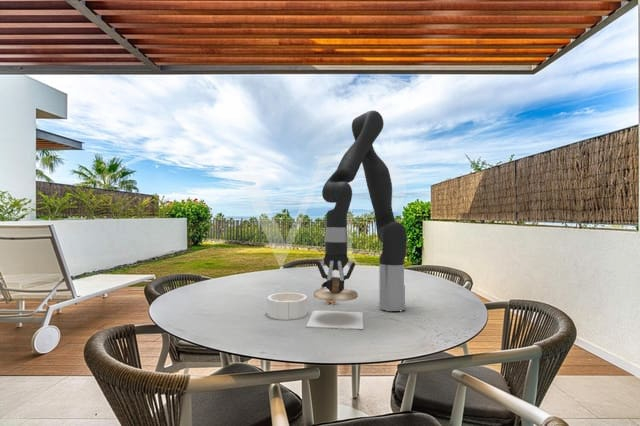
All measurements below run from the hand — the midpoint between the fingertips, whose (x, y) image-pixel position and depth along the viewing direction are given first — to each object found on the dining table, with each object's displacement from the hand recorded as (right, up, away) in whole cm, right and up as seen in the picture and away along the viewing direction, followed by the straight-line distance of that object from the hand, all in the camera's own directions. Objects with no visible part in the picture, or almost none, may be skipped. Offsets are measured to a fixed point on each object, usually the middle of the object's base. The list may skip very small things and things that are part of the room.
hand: (335, 290), depth 117 cm
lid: (0, -2, 0) cm, 2 cm away
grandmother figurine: (-1, -10, +21) cm, 23 cm away
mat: (0, -10, 0) cm, 10 cm away
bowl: (-17, -10, +7) cm, 21 cm away
